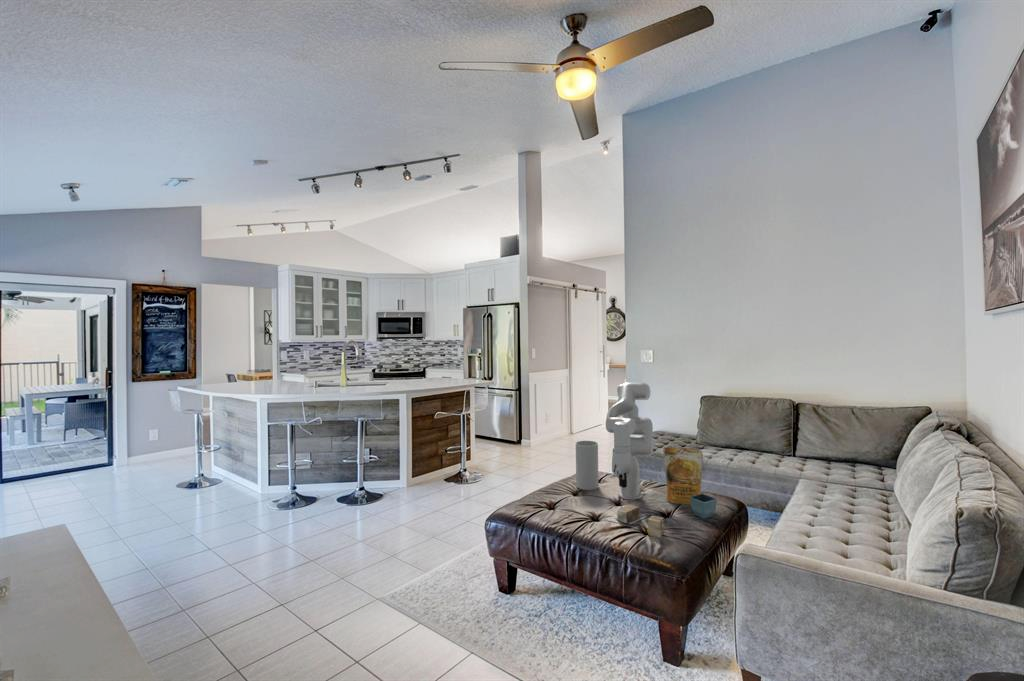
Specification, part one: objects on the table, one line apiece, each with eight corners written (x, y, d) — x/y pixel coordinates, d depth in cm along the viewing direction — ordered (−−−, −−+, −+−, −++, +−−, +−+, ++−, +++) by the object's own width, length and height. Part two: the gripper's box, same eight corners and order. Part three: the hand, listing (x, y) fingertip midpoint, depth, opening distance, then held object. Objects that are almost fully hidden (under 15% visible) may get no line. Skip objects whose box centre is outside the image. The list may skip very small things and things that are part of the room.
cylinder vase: (580, 491, 268) (579, 446, 267) (573, 484, 280) (572, 441, 279) (601, 489, 270) (601, 445, 269) (593, 482, 282) (593, 439, 281)
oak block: (652, 530, 216) (652, 515, 216) (663, 533, 213) (663, 517, 213) (648, 535, 212) (648, 519, 212) (659, 537, 209) (659, 521, 209)
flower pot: (704, 521, 225) (704, 502, 224) (689, 515, 233) (689, 496, 232) (717, 517, 229) (717, 499, 228) (702, 511, 237) (702, 493, 236)
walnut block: (617, 519, 228) (630, 514, 234) (626, 523, 224) (639, 517, 231) (617, 509, 228) (630, 503, 234) (626, 512, 224) (639, 506, 230)
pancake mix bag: (664, 498, 255) (663, 445, 254) (702, 502, 248) (702, 448, 247) (663, 502, 249) (662, 448, 248) (703, 506, 242) (702, 451, 241)
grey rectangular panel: (631, 511, 238) (631, 511, 238) (646, 517, 231) (646, 516, 231) (614, 518, 230) (614, 518, 230) (630, 524, 223) (630, 524, 223)
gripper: (625, 443, 233) (626, 480, 235) (605, 450, 224) (606, 488, 225) (638, 446, 228) (639, 484, 229) (618, 453, 218) (619, 493, 219)
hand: (623, 486), depth 227 cm, fingers closed
